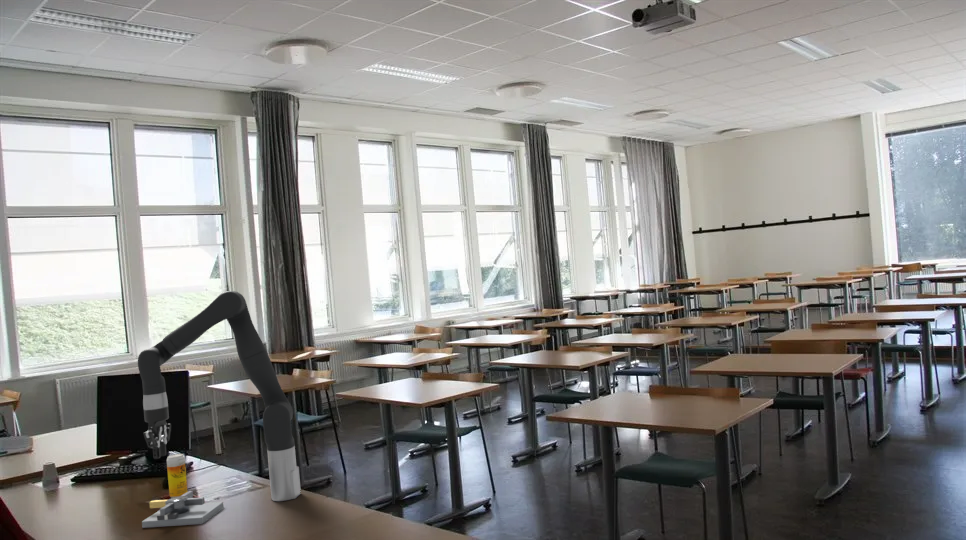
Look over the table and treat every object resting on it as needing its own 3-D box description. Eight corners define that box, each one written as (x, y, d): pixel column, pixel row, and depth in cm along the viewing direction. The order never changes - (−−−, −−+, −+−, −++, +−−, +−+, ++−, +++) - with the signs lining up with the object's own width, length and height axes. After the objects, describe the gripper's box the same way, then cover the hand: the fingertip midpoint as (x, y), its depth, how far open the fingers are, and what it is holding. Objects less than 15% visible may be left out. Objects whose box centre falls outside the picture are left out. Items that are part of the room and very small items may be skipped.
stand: (223, 507, 233) (222, 497, 233) (202, 523, 218) (201, 513, 218) (167, 511, 235) (166, 501, 235) (142, 527, 220) (141, 517, 220)
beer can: (180, 499, 249) (177, 457, 249) (166, 499, 250) (162, 458, 250) (191, 493, 255) (187, 453, 255) (176, 493, 256) (173, 453, 256)
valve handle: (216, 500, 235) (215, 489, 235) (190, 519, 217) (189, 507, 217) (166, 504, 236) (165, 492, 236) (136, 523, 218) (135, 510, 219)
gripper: (155, 409, 226) (159, 462, 226) (177, 401, 240) (181, 451, 240) (133, 411, 227) (137, 463, 227) (156, 403, 241) (160, 452, 241)
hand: (160, 456), depth 234 cm, fingers open, 3 cm apart
